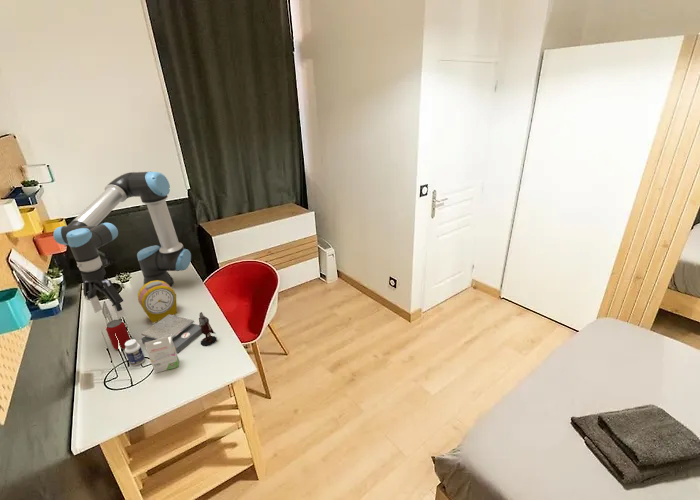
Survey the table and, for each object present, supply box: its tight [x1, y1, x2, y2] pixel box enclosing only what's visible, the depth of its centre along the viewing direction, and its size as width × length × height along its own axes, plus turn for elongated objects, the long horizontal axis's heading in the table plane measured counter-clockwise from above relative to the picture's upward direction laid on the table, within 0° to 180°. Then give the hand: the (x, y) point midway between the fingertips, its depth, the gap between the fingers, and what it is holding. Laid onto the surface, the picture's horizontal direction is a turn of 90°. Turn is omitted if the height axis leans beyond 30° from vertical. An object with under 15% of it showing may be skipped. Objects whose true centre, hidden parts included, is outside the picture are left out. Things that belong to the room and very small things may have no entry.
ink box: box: [144, 337, 180, 374], centre depth 137 cm, size 9×5×15 cm, turn 110°
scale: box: [140, 322, 203, 354], centre depth 156 cm, size 16×20×3 cm
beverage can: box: [105, 318, 131, 351], centre depth 150 cm, size 7×7×12 cm
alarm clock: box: [137, 280, 178, 324], centre depth 169 cm, size 15×8×18 cm, turn 131°
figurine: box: [198, 311, 217, 347], centre depth 150 cm, size 7×7×15 cm
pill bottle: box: [124, 338, 146, 366], centre depth 141 cm, size 5×5×10 cm
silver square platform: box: [141, 314, 195, 339], centre depth 156 cm, size 15×15×2 cm
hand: (109, 313), depth 146 cm, fingers open, 13 cm apart
